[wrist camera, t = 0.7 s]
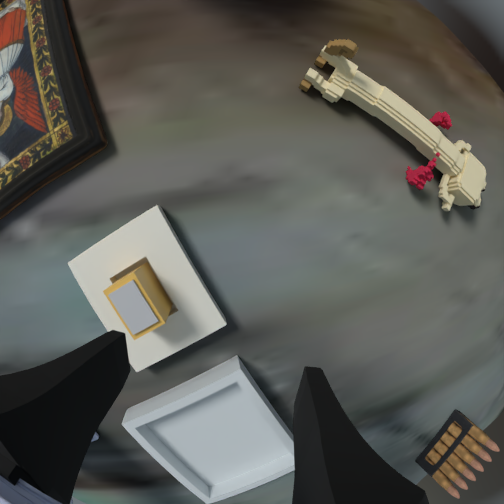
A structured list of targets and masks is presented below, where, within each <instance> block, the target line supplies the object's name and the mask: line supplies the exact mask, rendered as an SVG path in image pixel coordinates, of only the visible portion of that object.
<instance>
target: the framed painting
mask: <svg viewBox="0 0 504 504" xmlns="http://www.w3.org/2000/svg"><path fill="white" fill-rule="evenodd" d="M106 146H107V138H106V135H105V133H104V130H103V127H102V125H101V122H100V119H99V117H98V114H97V111H96V108H95V106H94V103H93V100H92V97H91V94H90V91H89V89H88V86H87V83H86V80H85V77H84V74H83V70H82V67H81V63H80V60H79V57H78V53H77V50H76V46H75V43H74V39H73V35H72V31H71V28H70V24H69V20H68V16H67V11H66V7H65V3H64V0H0V220H1V219H2V218H3V217H5V216H6V215H7V214H8V213H10V212H11V211H12V210H14V209H15V208H16V207H17V206H19V205H20V204H21V203H23V202H24V201H25V200H27V199H28V198H29V197H30V196H32V195H33V194H34V193H36V192H37V191H38V190H40V189H41V188H42V187H44V186H45V185H47V184H48V183H50V182H52V181H53V180H55V179H57V178H58V177H60V176H62V175H63V174H65V173H67V172H68V171H70V170H72V169H73V168H75V167H77V166H78V165H80V164H81V163H83V162H84V161H86V160H87V159H89V158H90V157H92V156H94V155H95V154H97V153H98V152H100V151H102V150H103V149H104V148H105V147H106Z"/></svg>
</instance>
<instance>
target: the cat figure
mask: <svg viewBox="0 0 504 504" xmlns="http://www.w3.org/2000/svg"><path fill="white" fill-rule="evenodd" d="M356 45H357V44H355V43H354V42H352V41H350V40H349V39H347V41H346V40H345V39H343V40H341V39H339V40H337V39H335V40H334V41H333V42H332V41H330V42H329V43H328V45H327V46H326V45H325V47H324V48H323V49H322V51H321V53H320V55H319V57H318V58H317V60H316V61H315V63H314V64H315V65H317V66H318V67H320V68H322V67H323V66H324V64H325V63H326V61H328V62H329V63H328V64H330V65H331V66H333V67H335V70H334V72H333V73H332V75H331V76H330V78H329V80H328V81H326V80H324V79H322V78H323V77H322V76H320V75H319V74H318V72H316V71H315V70H313V69H311V68H310V69H309V70H308V72H307V74H306V75H305V77H304V79H303V81H302V82H301V84H300V86H299V88H300V89H302V90H304V91H305V92H307V91H308V89H309V88H310V86H311V85H314V88H316V89H318V90H319V91H321V94H323V96H322V97H323V98H325V99H327V100H328V101H330V102H332V103H333V102H334V101H335V102H337V101H338V100H339V99H340V98H341V97H342V98H343V99H345V100H347V101H348V100H349V101H351V102H352V103H354V104H355V105H357V106H358V107H360V108H361V109H363V110H364V111H366V112H367V113H369V114H370V115H372V116H373V117H374V116H376V117H377V118H378V119H380V120H381V121H383V122H384V123H385V124H387V125H388V126H389V127H391V128H392V129H393V130H395V131H396V132H397V133H399V134H400V135H401V136H403V137H404V138H405V139H407V140H408V141H409V142H410V143H412V144H413V145H414V146H415V147H416V149H417V150H418V151H419V152H420V153H422V154H423V155H424V156H425V157H426V158H428V159H429V160H430V161H429V162H428V165H427V166H426V167H424V166H419V167H418V169H416V170H411V169H410V167H409V166H408V168H407V169H409V170H407V171H406V173H407V174H406V175H407V177H406V179H407V180H408V183H410V184H411V185H416V187H417V188H418V189H419V190H422V189H423V187H424V185H425V183H426V180H428V181H431V179H432V178H433V177H434V176H433V172H432V171H431V170H432V169H433V168H434V167H436V168H437V169H438V170H439V171H441V172H442V173H443V176H442V179H441V182H440V184H439V188H440V191H439V195H438V197H439V198H441V199H442V200H443V202H442V205H443V206H442V209H443V210H444V211H450V209H451V206H452V203H454V204H455V205H458V206H466V205H468V206H469V207H470V208H471V209H475V208H479V207H480V204H481V199H480V197H481V196H480V194H481V192H482V191H485V187H486V182H485V180H486V179H485V177H486V171H485V167H484V166H483V165H482V164H481V163H480V162H479V161H478V160H477V159H476V158H475V157H474V156H473V154H472V153H471V152H470V149H471V145H470V144H469V143H467V144H466V143H465V142H464V141H463V140H459V141H457V142H456V143H454V145H453V144H452V143H451V142H450V141H449V140H448V139H447V138H446V137H445V136H444V135H443V134H442V133H441V131H440V130H439V129H438V128H437V126H439V125H440V126H441V127H443V128H444V129H445V128H446V129H447V130H448V129H449V128H450V127H451V126H452V124H451V123H450V122H451V119H450V116H449V115H448V114H447V112H443V113H440V112H437V113H436V114H435V115H434V116H433V117H432V119H430V120H428V119H426V118H425V117H424V116H423V115H422V114H420V113H419V112H418V111H417V110H415V109H414V108H413V107H412V106H410V105H409V104H408V103H406V102H405V101H404V100H403V99H401V98H400V97H399V96H397V95H396V94H395V93H393V92H392V91H390V90H389V89H388V88H386V87H385V86H383V87H382V86H381V85H379V84H378V83H376V82H375V81H373V80H372V79H370V78H369V77H367V76H366V75H364V74H363V73H361V72H360V71H358V70H357V68H358V66H356V65H355V64H354V63H352V62H350V61H349V60H347V59H348V57H349V58H351V59H352V58H353V56H354V55H355V54H356V52H357V50H358V47H356ZM346 58H347V59H346ZM356 70H357V71H356ZM469 152H470V153H469Z"/></svg>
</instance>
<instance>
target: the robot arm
mask: <svg viewBox="0 0 504 504" xmlns="http://www.w3.org/2000/svg"><path fill="white" fill-rule="evenodd" d="M129 373H130V364H129V357H128V350H127V343H126V335H125V333H123V332H119V331H115V330H111V331H109V332H107V333H105V334H103V335H101V336H99V337H98V338H96V339H94V340H92V341H90V342H89V343H87V344H85V345H83V346H81V347H79V348H77V349H76V350H74V351H72V352H70V353H67V354H65V355H63V356H61V357H59V358H57V359H55V360H53V361H50V362H48V363H45V364H43V365H40V366H37V367H34V368H31V369H28V370H24V371H20V372H16V373H12V374H7V375H2V376H0V504H73V500H72V493H73V490H74V486H75V482H76V479H77V476H78V473H79V470H80V467H81V465H82V462H83V459H84V457H85V454H86V452H87V449H88V447H89V445H90V443H91V442H92V441H95V440H97V439H98V438H99V435H98V434H97V433H96V430H97V428H98V427H99V425H100V423H101V422H102V420H103V419H104V417H105V415H106V414H107V412H108V411H109V409H110V408H111V406H112V404H113V403H114V401H115V400H116V398H117V396H118V395H119V393H120V392H121V390H122V388H123V386H124V384H125V382H126V379H127V377H128V375H129ZM293 440H294V466H295V478H294V490H293V500H292V504H429V502H428V499H427V496H426V493H425V491H424V490H423V489H421V488H420V487H418V486H417V485H415V484H414V483H412V482H410V481H409V480H407V479H406V478H405V477H403V476H402V475H401V474H399V473H398V472H397V471H396V470H394V469H393V468H392V467H391V466H390V465H388V464H387V463H386V462H385V461H384V460H383V459H382V458H381V457H380V456H379V455H378V454H377V453H376V452H375V451H374V450H373V449H372V448H371V447H370V446H369V445H368V443H367V442H366V441H365V440H364V439H363V437H362V436H361V435H360V434H359V432H358V431H357V430H356V428H355V427H354V426H353V424H352V423H351V421H350V420H349V418H348V417H347V415H346V414H345V412H344V410H343V409H342V407H341V405H340V404H339V402H338V400H337V398H336V397H335V395H334V393H333V391H332V389H331V387H330V385H329V383H328V381H327V379H326V377H325V375H324V372H323V370H322V369H321V368H316V367H306V366H305V368H304V372H303V375H302V379H301V382H300V386H299V389H298V393H297V396H296V399H295V404H294V417H293Z"/></svg>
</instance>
